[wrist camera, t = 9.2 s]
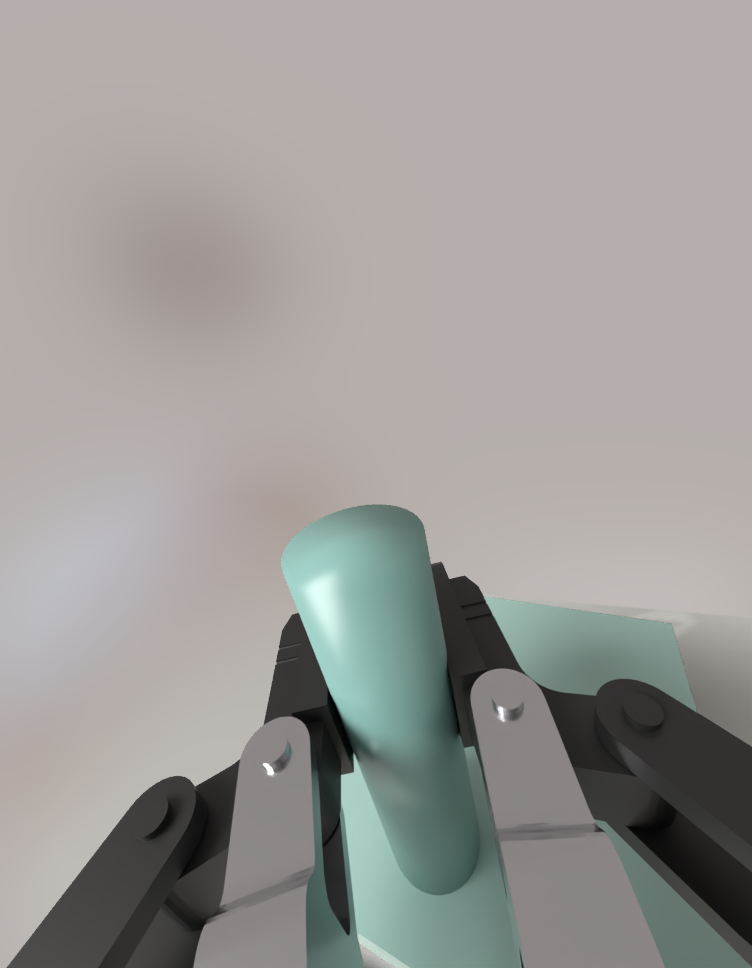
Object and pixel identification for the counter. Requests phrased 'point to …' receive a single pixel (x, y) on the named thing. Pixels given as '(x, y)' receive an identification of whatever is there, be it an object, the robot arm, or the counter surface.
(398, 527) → the lid
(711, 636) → the counter surface
